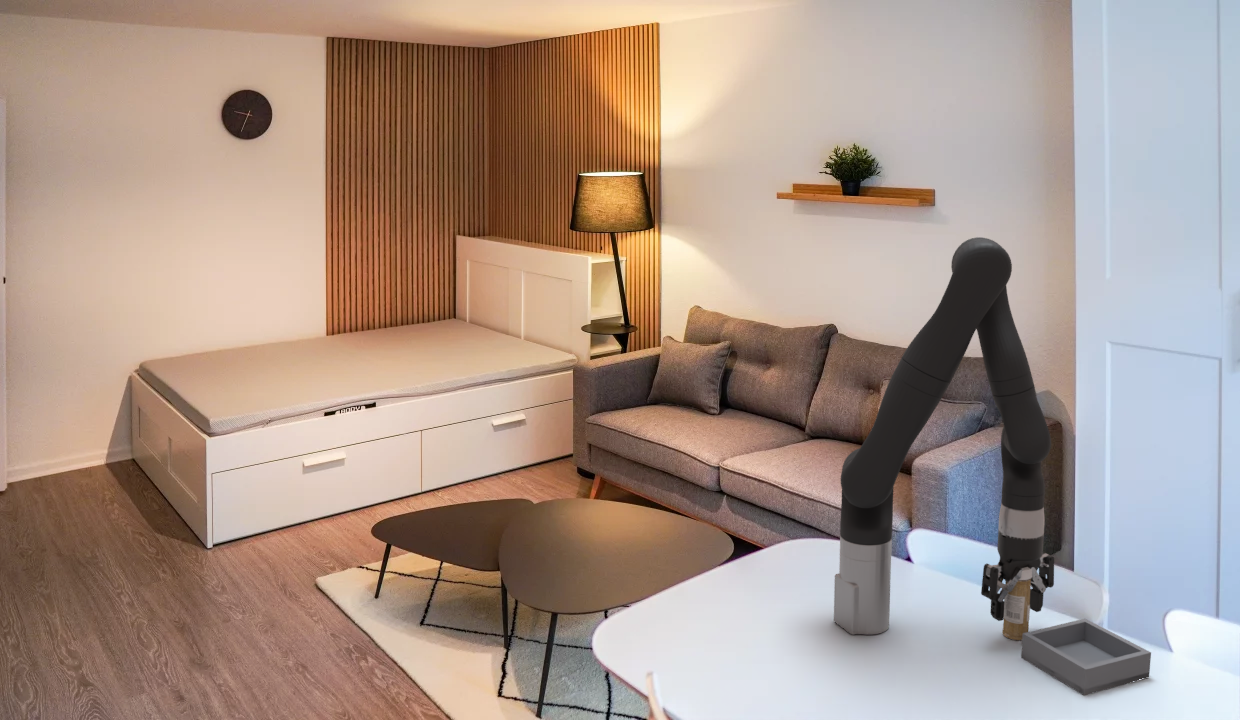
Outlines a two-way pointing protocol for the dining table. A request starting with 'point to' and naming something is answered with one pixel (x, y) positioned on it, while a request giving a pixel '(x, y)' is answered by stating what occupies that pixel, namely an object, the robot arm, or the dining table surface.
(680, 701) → the dining table surface
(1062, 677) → the bin
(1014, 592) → the sprinkles bottle
